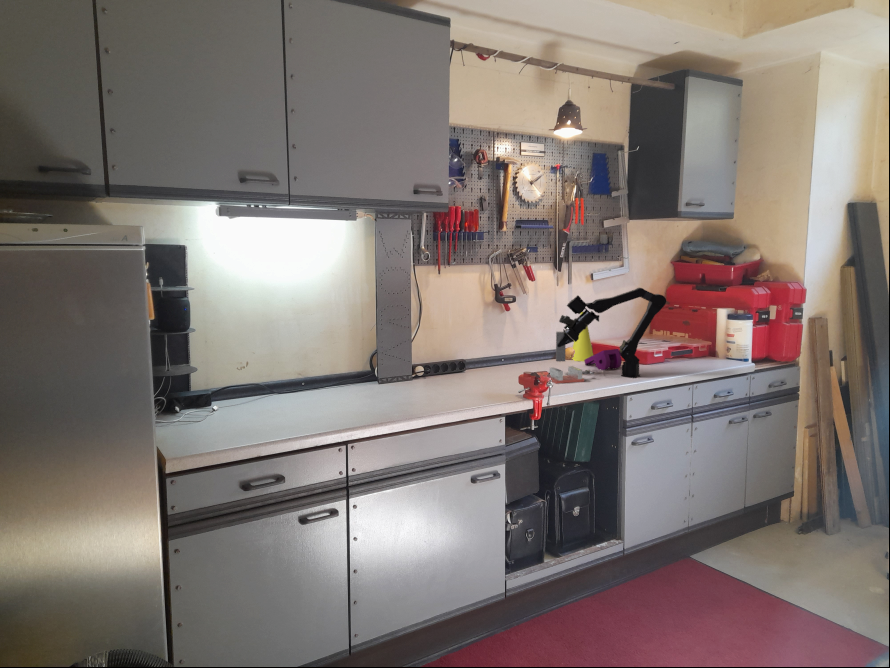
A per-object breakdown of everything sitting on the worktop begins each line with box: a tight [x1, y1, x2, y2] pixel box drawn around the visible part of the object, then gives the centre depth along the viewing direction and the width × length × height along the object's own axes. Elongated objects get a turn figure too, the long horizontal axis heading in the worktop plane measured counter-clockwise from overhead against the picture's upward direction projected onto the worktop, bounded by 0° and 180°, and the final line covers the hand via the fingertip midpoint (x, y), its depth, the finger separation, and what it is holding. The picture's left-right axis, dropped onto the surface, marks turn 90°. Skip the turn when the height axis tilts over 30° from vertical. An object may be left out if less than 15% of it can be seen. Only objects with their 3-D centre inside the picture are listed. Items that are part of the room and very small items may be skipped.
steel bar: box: [555, 331, 566, 362], centre depth 265 cm, size 4×4×13 cm
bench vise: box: [549, 365, 595, 384], centre depth 254 cm, size 18×9×5 cm, turn 105°
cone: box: [572, 311, 594, 362], centre depth 305 cm, size 12×12×25 cm
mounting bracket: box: [583, 348, 623, 371], centre depth 284 cm, size 9×8×18 cm
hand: (557, 345), depth 265 cm, fingers closed on steel bar, 4 cm apart
